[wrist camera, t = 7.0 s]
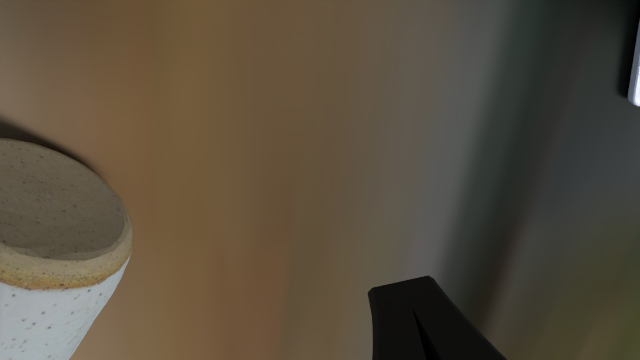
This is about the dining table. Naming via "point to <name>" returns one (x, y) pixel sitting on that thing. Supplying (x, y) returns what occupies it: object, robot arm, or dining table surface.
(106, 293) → the ceramic mug
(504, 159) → the dining table surface
